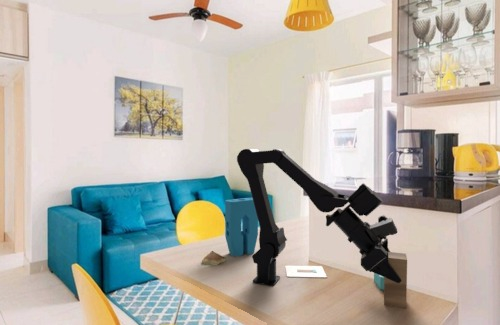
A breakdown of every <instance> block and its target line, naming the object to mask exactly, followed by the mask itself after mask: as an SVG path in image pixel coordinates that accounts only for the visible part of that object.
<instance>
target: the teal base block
mask: <svg viewBox="0 0 500 325" xmlns="http://www.w3.org/2000/svg"><path fill="white" fill-rule="evenodd" d="M373 281H374V283H375V284H376V286H377V287H378V289H379V290H380V291H381V290H382V291H384V277H383V276H381V275H378V274H376V273H373Z"/></svg>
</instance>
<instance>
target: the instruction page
mask: <svg viewBox="0 0 500 325" xmlns="http://www.w3.org/2000/svg"><path fill="white" fill-rule="evenodd" d="M284 266H285V273H286V277H287V278H313V279H314V278H315V279H316V278H317V279H318V278H320V279H327V278H328V276H327V274H326V271H325V270H324V268H323V266H322V265H284Z"/></svg>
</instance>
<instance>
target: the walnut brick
mask: <svg viewBox="0 0 500 325" xmlns="http://www.w3.org/2000/svg"><path fill="white" fill-rule="evenodd" d="M386 252H387V251H386ZM388 261H389V263H390V264H391V266H392V267H393V269H394V270H395V271H396V273H397V274H398V276H399V277H400V278H401V280H402V281H401V282H400V283H396V282H394V281H392V280H390V279H387V278H385V277H384V290H383V305H384V306H388V307H394V308H400V309H401V308H402V309H407V292H408V291H407V288H408V287H407V286H408V285H407V284H408V282H407V281H408V257H407V253H403V252H394V251H390V252H388Z"/></svg>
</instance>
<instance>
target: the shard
mask: <svg viewBox="0 0 500 325" xmlns="http://www.w3.org/2000/svg"><path fill="white" fill-rule="evenodd" d="M226 261H227V258H226V257H224V256H223V255H220V254H219V253H217V252H215V251H213V250H212V251H210V252H209V253H208V254H207V255H206V256H205V257H204V258H203V259H202V260H201V264H202V265H203V264H205V265H215V266H216V265H217V266H218V265H220V264H221V263H224V262H226Z"/></svg>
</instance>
